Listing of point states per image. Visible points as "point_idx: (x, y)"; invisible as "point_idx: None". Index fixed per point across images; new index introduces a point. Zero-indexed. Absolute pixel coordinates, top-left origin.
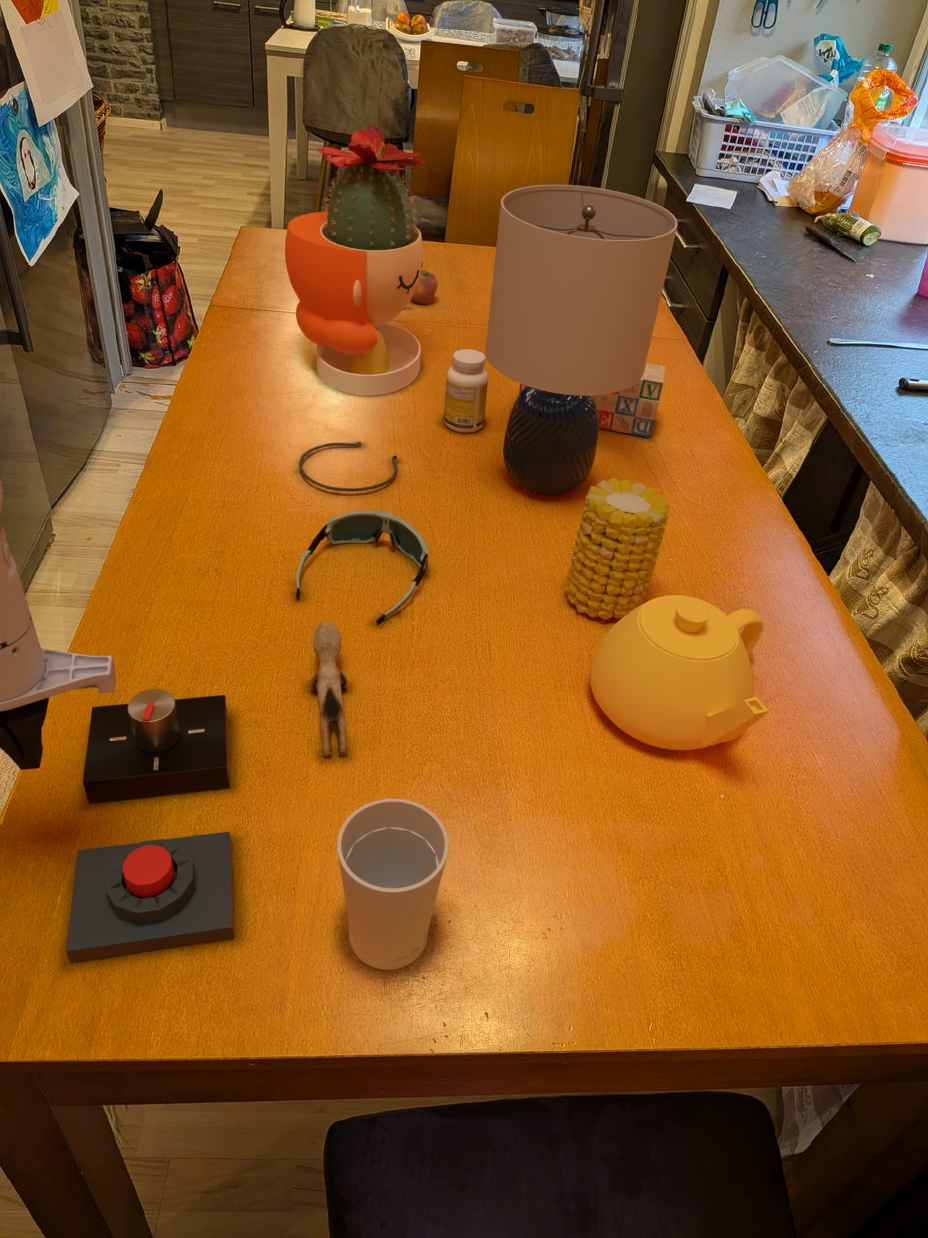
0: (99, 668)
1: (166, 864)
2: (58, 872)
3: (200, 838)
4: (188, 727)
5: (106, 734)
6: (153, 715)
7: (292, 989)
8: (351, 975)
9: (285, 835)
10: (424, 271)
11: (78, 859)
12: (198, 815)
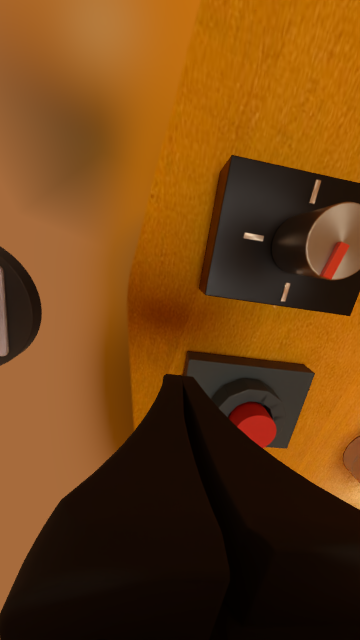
0: None
1: (271, 437)
2: (167, 355)
3: (290, 374)
4: None
5: (241, 221)
6: (337, 268)
7: (299, 470)
8: (334, 469)
9: (345, 367)
10: None
11: (188, 369)
12: (288, 329)
